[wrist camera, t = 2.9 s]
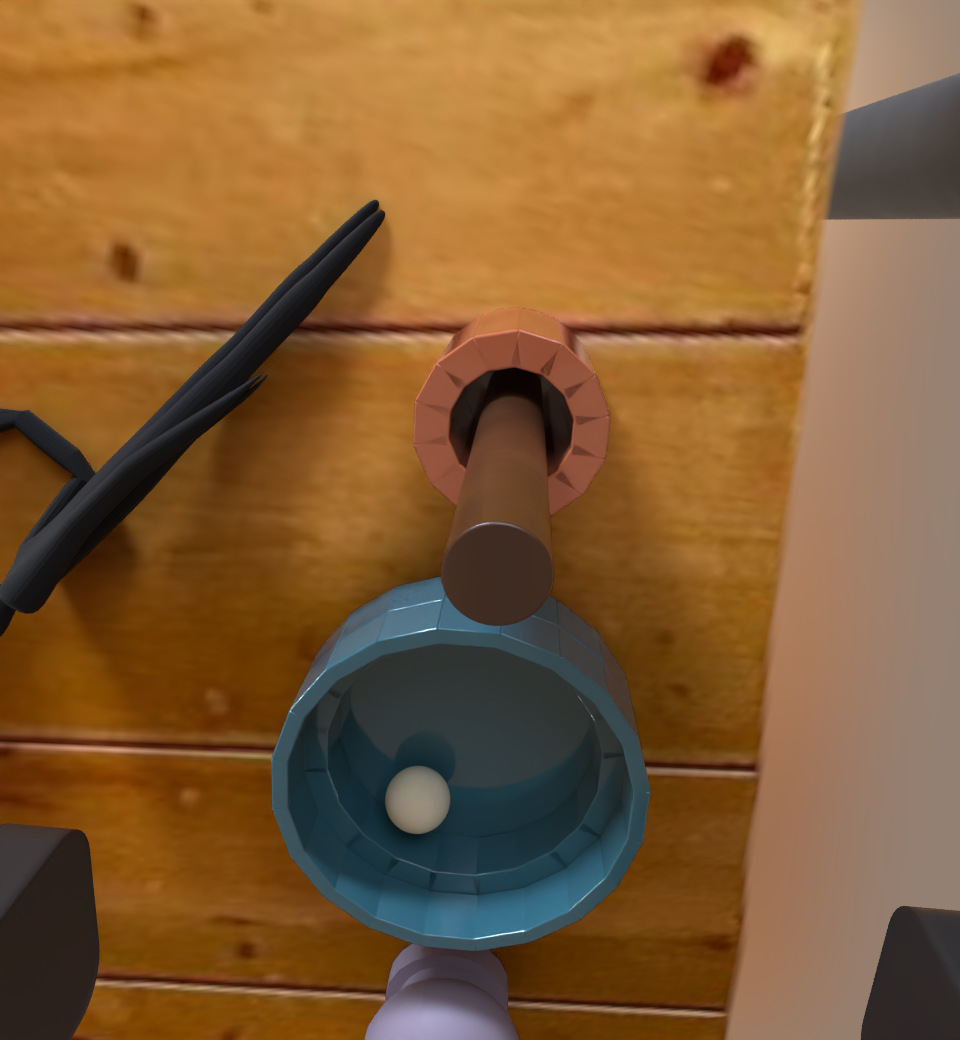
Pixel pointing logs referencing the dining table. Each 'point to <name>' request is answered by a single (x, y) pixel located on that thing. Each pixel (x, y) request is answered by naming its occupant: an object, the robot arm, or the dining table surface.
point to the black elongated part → (163, 428)
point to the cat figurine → (444, 997)
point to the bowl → (463, 771)
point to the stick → (503, 509)
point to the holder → (565, 391)
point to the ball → (417, 799)
